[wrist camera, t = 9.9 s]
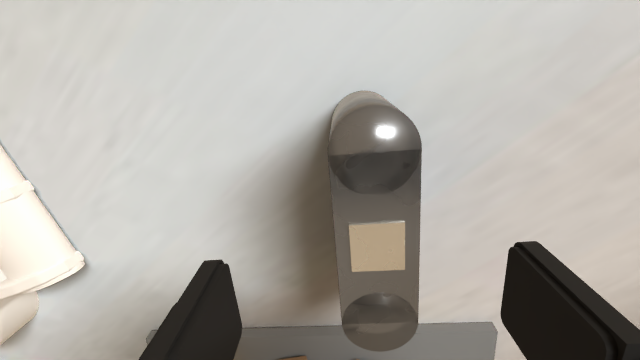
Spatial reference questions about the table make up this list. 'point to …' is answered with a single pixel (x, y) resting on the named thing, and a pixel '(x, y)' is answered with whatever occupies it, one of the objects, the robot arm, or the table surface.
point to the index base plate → (340, 353)
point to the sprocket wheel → (299, 358)
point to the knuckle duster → (27, 250)
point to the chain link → (376, 219)
